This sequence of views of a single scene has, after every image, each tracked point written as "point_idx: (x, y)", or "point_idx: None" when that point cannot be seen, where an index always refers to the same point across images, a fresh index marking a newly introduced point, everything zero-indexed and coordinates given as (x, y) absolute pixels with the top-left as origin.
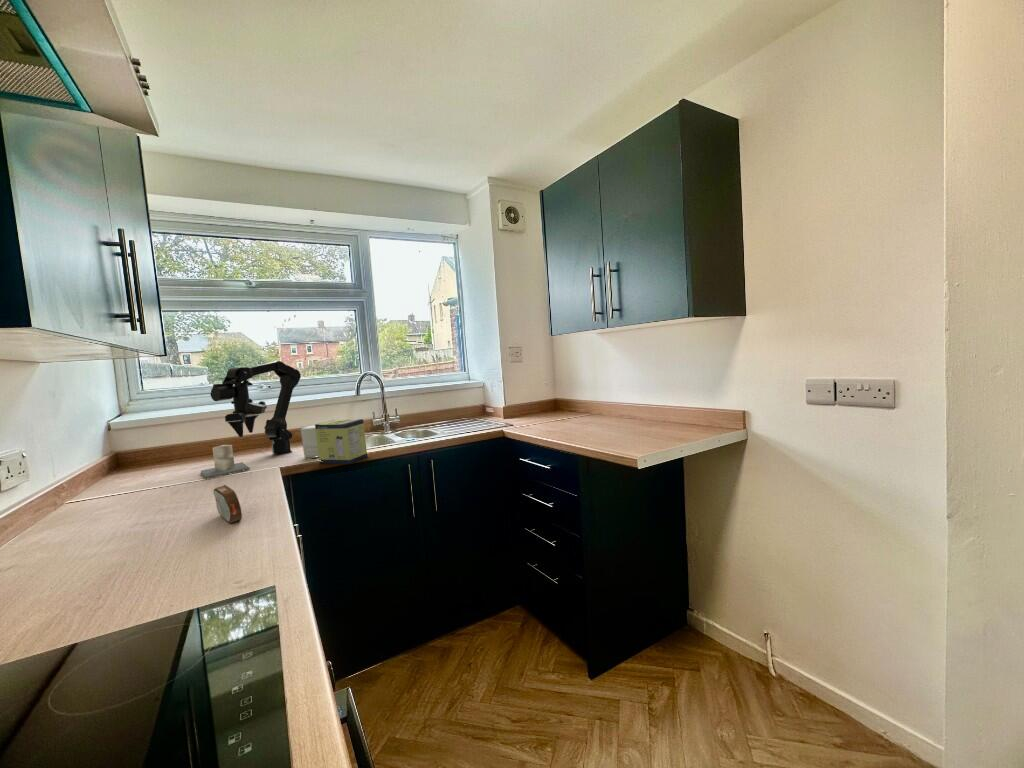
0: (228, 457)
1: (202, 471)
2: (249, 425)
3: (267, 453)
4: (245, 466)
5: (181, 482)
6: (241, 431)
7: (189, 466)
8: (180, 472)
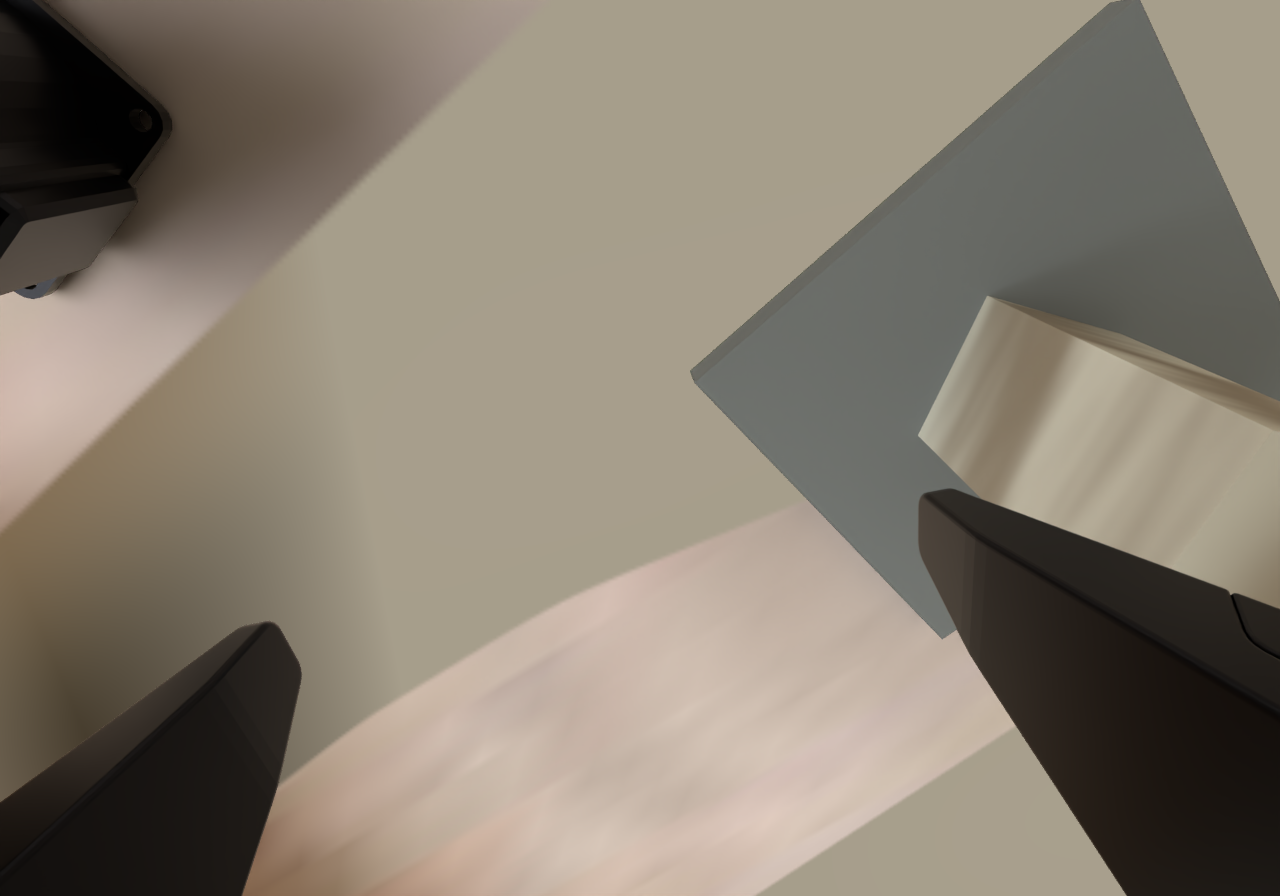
0: (1171, 365)
1: None
2: (160, 886)
3: (46, 410)
4: (1031, 125)
5: None
6: (1122, 564)
7: (588, 885)
8: (802, 817)
